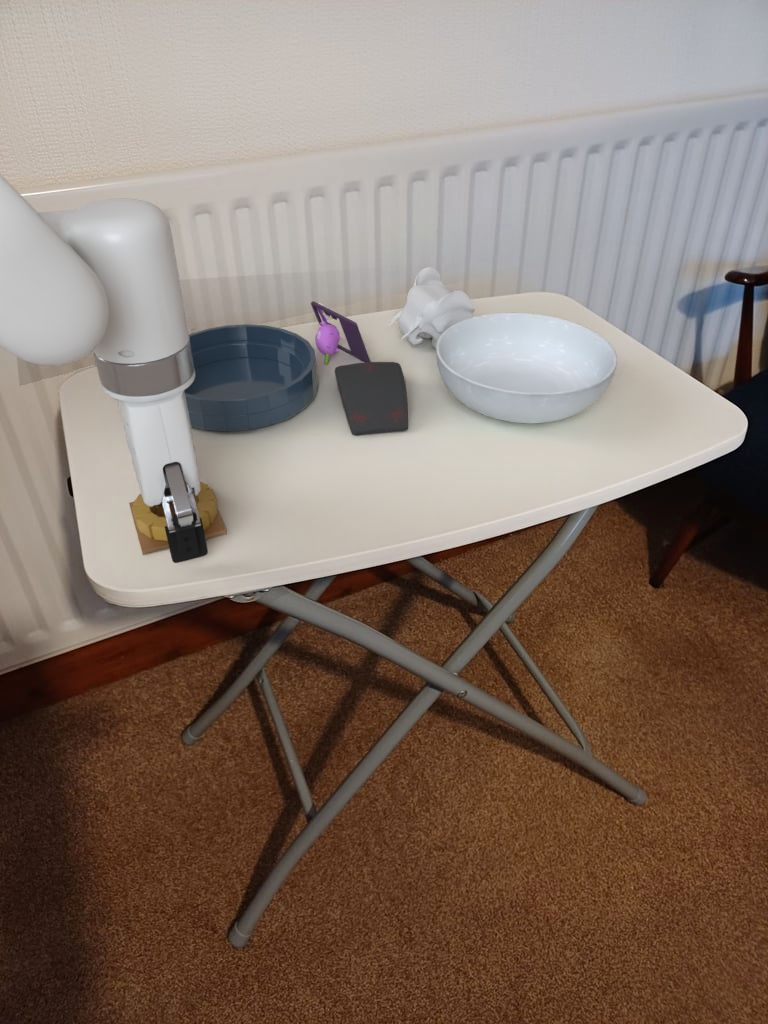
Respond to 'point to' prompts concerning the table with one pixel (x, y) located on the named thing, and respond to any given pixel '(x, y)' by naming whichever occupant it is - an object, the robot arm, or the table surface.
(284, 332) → the bowl
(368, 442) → the table surface
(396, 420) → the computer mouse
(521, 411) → the serving bowl
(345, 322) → the purple piece
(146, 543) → the coaster
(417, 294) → the elephant figurine
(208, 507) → the ring
